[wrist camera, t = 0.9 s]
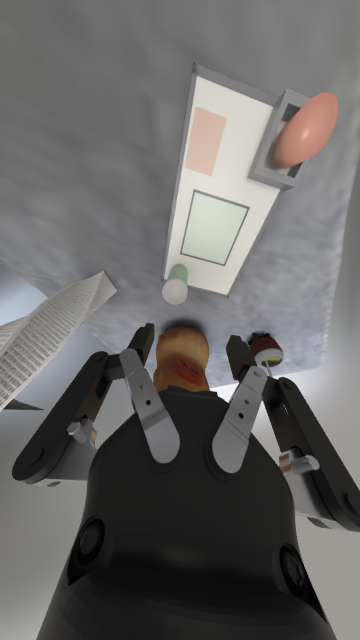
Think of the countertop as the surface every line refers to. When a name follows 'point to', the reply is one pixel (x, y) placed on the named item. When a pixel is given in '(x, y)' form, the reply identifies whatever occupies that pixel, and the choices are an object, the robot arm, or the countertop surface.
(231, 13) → the countertop surface
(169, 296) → the marker
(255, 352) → the mate gourd
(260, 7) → the countertop surface
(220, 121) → the white flat board
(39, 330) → the skyscraper
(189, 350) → the butternut squash
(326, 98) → the button
